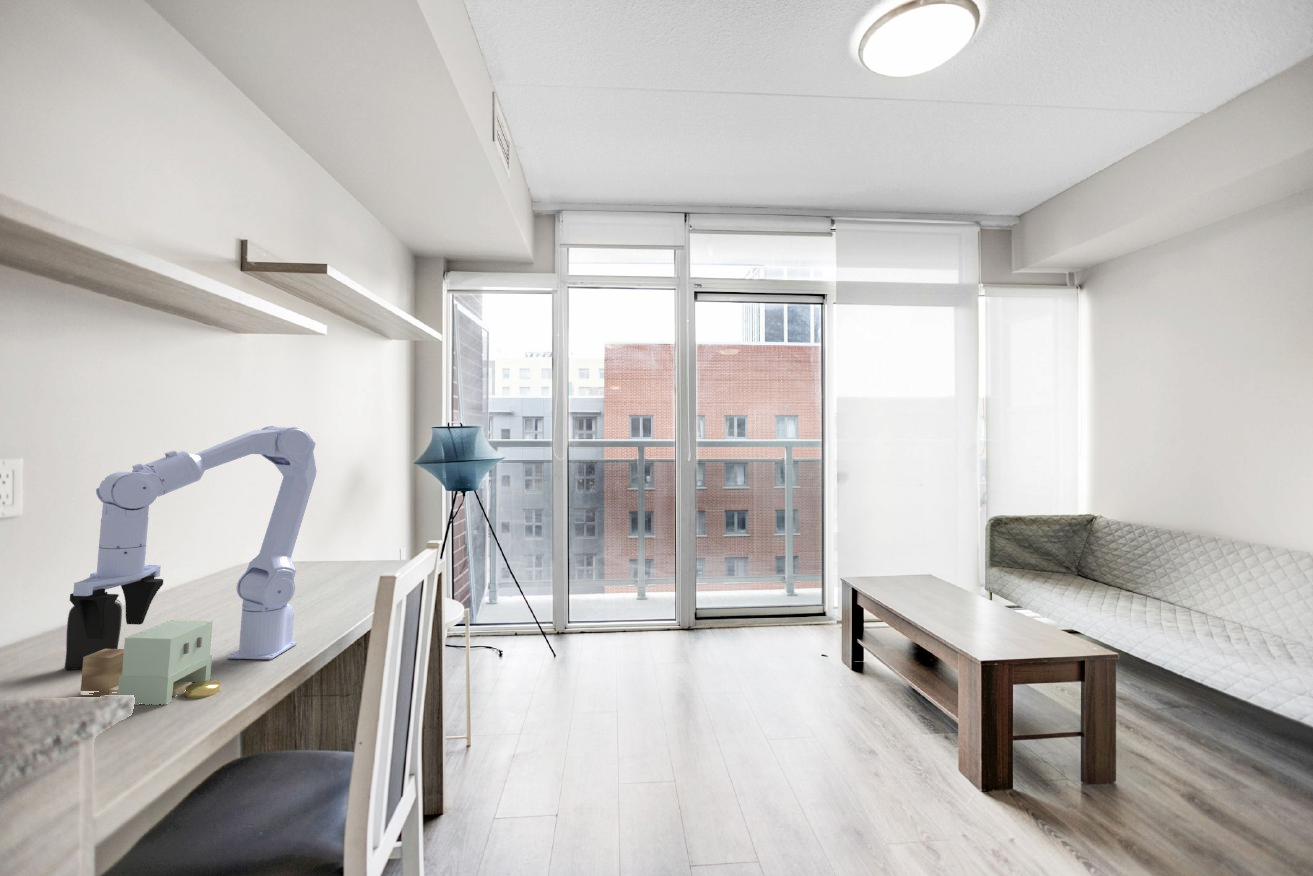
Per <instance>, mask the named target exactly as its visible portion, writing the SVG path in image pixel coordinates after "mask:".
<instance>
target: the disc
mask: <svg viewBox="0 0 1313 876" xmlns="http://www.w3.org/2000/svg"><path fill="white" fill-rule="evenodd" d="M220 688H221V682H220V681H218V680H215V679H214V680H213V679H212V680H211V679H210V680H208V681H200V682H196V683H192V684H190V685H188V686H187V687H186V691H185V692H184V697H185V696H186V697H185V698H187V697H189V698H188V699H201V697H203V698H208V697H210V695H211V696H214V695H216V694H218V693H219V692H220ZM217 692H218V693H217Z"/></svg>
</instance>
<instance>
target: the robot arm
mask: <svg viewBox="0 0 1313 876" xmlns="http://www.w3.org/2000/svg"><path fill="white" fill-rule="evenodd" d="M315 447H316V442H315V441H314V439H313V438H312V437H311V435H310V433H308V432H307V431H306V430H305V429H304V428H302V427H298V426H292V427H291V426H290V427H285V426H284V427H282V426H280V427H278V426H274V425H271V426H270V425H269V426H264V427H263V428H260V429H253V430H250V431H248V432H245V433H242V434H240V435H238V436H236V437H232V438H230V439H228V440H226V441H224V442H221V443H218V444H216V445H213V446H211V447H209V448H207V449H204V450H202V451H199V452H197V453H195V454H193V453H191V452H188V451H182V450H181V451H179V452H177V450H171V451H168V452H165V453H164V455H165V456H164V457H162V458H159V459H156V460H154V461H151V462H148V463H145V464H142V463H137V464H134V465H132V467H131V468H132V471H131V472H130V471H117V472H113V473H111V474H109V475H107V476H106V477H104V479H103V480H102V481H100V484H99V486H98V487H97V488H95V493H96V497H97V498H98V499H99V500H100V502H102V511H101V519H100V529H99V540H98V541H99V543H98V553H97V563H96V565H97V567H96V572H91V573H89V577H88V578H85V579H83V580H80V581H77V582H74V583H73V593H70V594H69V602H70V603H71V604H72V605H73V606H75V608H76V609H77V611H78V612H79V614H80V616H81V619H82V622H83V625H84V628H85V632H86V636H87V639H102V638H104V637H105V635H106V632H107V628H108V622H109V616H110V613H111V610H112V607H113V605H114V603H115V601H116V599H117V600H118V597H119V595H120V594H118V593H108V591H106V590H109V589H112V588H117V587H120V588H121V590H122V592H123V596H124V603H125V622H126V625H142V624H143V623H144V621H145V620H146V619H145V618H146V616H147V613H148V610H149V608H150V605H151V604H152V602H153V600H154V598H155V597H156V594H157V593H158V592H159V590H160V589H161V587H162V586H164V579H163V578H158V577H160V576H161V564H160V565H157V564H148V565H146V562H145V561H146V553H147V552H146V551H147V538H148V525H149V511H150V506H151V505H152V504H153V503H154V501H156V499H157V498H158V497H161V496H164V495H166V494H170V493H171V492H174V491H176V490H179V489H182V488H184V487H187V486H188V485H191V484H193V483H197V482H199V481H200V480H201V479H202V477H203V475H204V474H205V471H206V470H210V469H213V468H215V467H218V466H221V465H223V464H227V463H230V462H233V461H235V460H239V459H241V458H244V457H246V456H250V455H261V456H262V457H263V458H265V459H266V460H268V461H269V462H271V463H272V464H273V465H274V466H275V467H276V468H277V469H278V471H279V472H280V473H281V475H282V477H283V478H282V480H281V484H280V487H279V490H278V493H277V497H276V500H275V502H274V506H273V510H272V512H271V515H270V519H269V522H268V526H267V527H266V532H265V533H264V534H265V535H264V538H263V541H262V544H261V548H260V550H259V553H258V555H256V556H255V557H254V558H253V559H251V561H250V562H249V563H248V566H247V568H246V570H245V572H244V573H243V574H242V575H241V576H240V578H239V579H238V581H237V584H236V592H237V593H236V594H237V595H238V597H239V598H241V600H242V606H241V619H240V629H239V630H240V631H239V642H238V643H239V645H238V650H236V651H234V652H232V653H230V654H229V655H227V659H232V660H233V659H238V660H243V659H244V660H272V659H274V658H276V657H278V656H279V655H281V654H282V653H284V652H285V651H287V650H289V649H291V648H293V647H294V646H295V645H297V644H298V643H297V641H293V634H294V632H293V631H294V619H295V611H294V608H293V607H292V605H291V604H290V603H289V602H290V601H291V600H292V598H293V597H294V595H295V591H296V584H295V576H296V575H295V574H296V573H297V572H296V567H295V566H294V562H293V560H292V556H293V552H294V549H295V545H296V542H297V538H298V535H299V533H300V529H301V525H302V522H303V520H304V516H305V513H306V509H307V506H308V503H309V500H310V496H311V493H312V489H313V486H314V482H315V479H316V475H317V466H316V459H315V454H314V450H315Z"/></svg>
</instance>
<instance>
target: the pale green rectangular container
mask: <svg viewBox="0 0 1313 876" xmlns="http://www.w3.org/2000/svg"><path fill="white" fill-rule="evenodd" d="M212 631H213V621H212V620H211V621H207V620H179V619H178V620H175V619H174V620H172V619H171V620H169V621H165V622H163V623H161V624H158V625H155V626H153V627H150V628H147V629H145V630H142V631H139V632H137V633H133V634H131V635H129V636H126V637H124V645H123V646H124V647H123V649H124V656H123V668H122V676H119V686H118V695H134V697H135V704H134V705H133V706H137V705H138V706H139V703H140V704H141V703H142V704H145V705H144V706H164V705H163V704H167V703H169V704H171V703H172V702H173V697H172V694H173V682H195V683H196V682H200V681H208V680H211V671H212V662H213V661H212V659H213V658H212V657H213V655H211V646H212V633H213V632H212ZM170 702H171V703H170ZM149 704H150V705H149ZM151 704H152V705H151ZM159 704H161V705H159ZM167 705H168V704H167Z"/></svg>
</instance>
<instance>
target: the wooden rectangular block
mask: <svg viewBox="0 0 1313 876" xmlns="http://www.w3.org/2000/svg"><path fill="white" fill-rule="evenodd" d="M123 656H124V648H118V649H103V650H101V651H98V652H95V653H93V654H90V655H88V656H85V657H83V668H81V680H80V681H81V683H80V691H99V692H94V693H89V694H93V695H80V694H79V696H80V697H102V696H101V695H118V686H119V676H122V668H123ZM190 684H193V683H192V682H173V694H172V696H176V695H178V694H180V695H181V694H183V693H185V692H184V691H185V690H186V687H187V686H188V685H190ZM112 692H117V693H112ZM182 692H183V693H182ZM178 696H179V695H178ZM176 697H177V696H176Z"/></svg>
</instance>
